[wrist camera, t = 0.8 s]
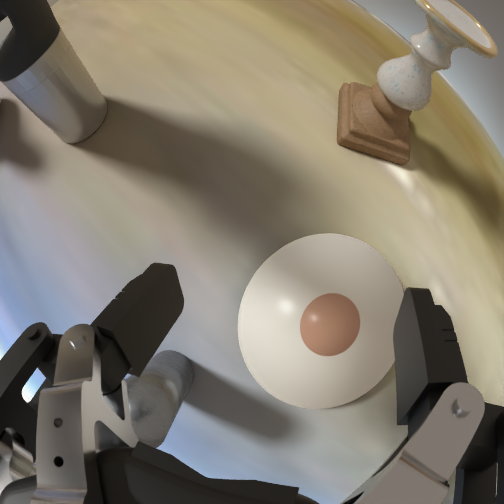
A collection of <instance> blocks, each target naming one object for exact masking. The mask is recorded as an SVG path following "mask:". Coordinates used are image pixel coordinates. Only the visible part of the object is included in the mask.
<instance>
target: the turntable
mask: <svg viewBox="0 0 504 504" xmlns="http://www.w3.org/2000/svg"><path fill="white" fill-rule="evenodd" d="M403 296H404V292H403V288H402V286H401V283H400V281H399V278H398V276H397V274H396V273H395V271H394V269H393V268H392V266H391V265H390V264H389V262H388V261H387V260H386V259H385V258H384V257H383V256H382V255H381V254H380V253H379V252H378V251H377V250H375V249H374V248H373V247H372V246H370V245H368V244H366V243H365V242H363V241H361V240H358V239H356V238H353V237H350V236H346V235H342V234H333V233H325V234H315V235H310V236H306V237H303V238H300V239H297V240H295V241H293V242H291V243H288V244H286V245H285V246H283V247H282V248H280V249H279V250H277V251H276V252H275V253H273V254H272V255H271V256H270V257H269V258H268V259H267V260H266V261H265V262H264V263H263V264H262V265H261V266H260V267H259V268H258V270H257V271H256V272H255V274H254V275H253V277H252V278H251V280H250V282H249V284H248V286H247V288H246V290H245V292H244V295H243V298H242V301H241V305H240V310H239V315H238V338H239V344H240V349H241V353H242V356H243V358H244V361H245V364H246V365H247V367H248V369H249V371H250V373H251V374H252V376H253V377H254V378H255V380H256V381H257V382H258V383H259V384H260V385H261V386H262V387H263V388H264V389H265V390H266V391H267V392H268V393H270V394H271V395H272V396H274V397H275V398H277V399H279V400H281V401H283V402H285V403H288V404H290V405H293V406H297V407H302V408H309V409H324V408H331V407H336V406H340V405H343V404H346V403H349V402H351V401H353V400H355V399H357V398H359V397H360V396H362V395H364V394H365V393H367V392H368V391H369V390H371V389H372V388H373V387H374V386H376V385H377V384H378V382H379V381H380V380H381V379H382V378H383V377H384V376H385V375H386V373H387V372H388V371H389V370H390V368H391V366H392V365H393V363H394V362H395V356H394V345H393V330H394V325H395V321H396V318H397V315H398V312H399V309H400V306H401V303H402V299H403Z"/></svg>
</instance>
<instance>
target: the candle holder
mask: <svg viewBox="0 0 504 504" xmlns="http://www.w3.org/2000/svg"><path fill="white" fill-rule="evenodd" d="M414 1H415V2H416V3H417V5H418V6H419V7H420V8H421V9H422V10H423V11H424V12H425V13H426V18H427V22H428V25H427V28H426V30H425V31H423V32H421V33H418V34H412V35H411V37H410V43H411V52H410V54H408V55H406V56H403V57H399V58H394V59H390V60H388V61H386V62H384V63H383V64H382V65H381V66H380V67H379V69H378V72H377V82H378V83H376V84H375V85H374V86H373V87H369V86H366V85H363V84H359V83H355V82H351V83H350V84H347V83H343V85H342V87H341V89H340V91H339V107H338V127H337V143H338V144H339V145H341V146H344V147H347V148H350V149H353V150H356V151H360V152H363V153H366V154H369V155H372V156H375V157H378V158H381V159H384V160H387V161H390V162H393V163H396V164H400V165H404V164H405V163H407V162H408V161H409V158H410V130H409V120H408V117H409V116H410V115H411V112H412V111H418V110H421V109H423V108H424V107H425V106H427V104H428V103H429V101H430V98H431V92H432V82H431V81H432V74H433V72H434V71H437V70H441V69H443V70H445V69H448V68H449V67H450V66H451V61H450V57H451V53H452V51H453V50H455V49H456V48H467V47H468V48H469V49H471V50H472V51H474V52H475V53H477V54H479V55H480V56H483V57H485V58H489V59H492V58H494V57H496V56H497V53H498V50H497V47H496V44H495V42H494V41H493V39H492V38H491V36H490V35H489V33H488V32H487V31H486V30H485V28H484V27H483V26H482V25H481V24H480V23H479V22H478V21H477V20H476V19H475V18H474V17H473V16H472V15H471V14H470V13H469V12H468V11H466V10H465V9H464V8H463V7H462V6H460V5H459V4H458V3H456V2H455V1H453V0H414Z"/></svg>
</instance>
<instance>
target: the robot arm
mask: <svg viewBox="0 0 504 504" xmlns="http://www.w3.org/2000/svg"><path fill="white" fill-rule="evenodd" d="M7 16H8V18H9V19H10V21H11V24H12V26H13V28H12V30H11V31H10V33H9V34H8V35H7V36H6V38H5V39H4V40H3V42H2V43H1V45H0V81H1V82H2V83H3V84H4V85H5V86H6V87H7V88H8V89H9V90H10V91H11V92H12V93H13V94H14V95H15V96H16V97H17V98H18V99H19V100H20V101H21V102H22V103H23V104H24V105H25V106H26V107H27V108H29V109H30V110H31V111H32V112H33V113H34V114H35V115H36V116H37V117H38V118H39V119H40V120H41V121H42V122H43V123H44V124H45V125H46V126H48V127H49V128H50V129H51V130H52V131H53V132H54V133H55V134H56V135H57V136H58V137H59V138H60V139H61V140H63V141H64V142H66V143H77V142H80V141H82V140H84V139H86V138H88V137H89V136H90V135H92V134H93V133H94V132H95V131H96V130H97V129H98V128H99V126H100V125H101V124H102V122H103V120H104V118H105V116H106V113H107V102H106V100H105V98H104V97H103V95H102V94H101V92H100V91H99V89H98V87H97V86H96V84H95V83H94V81H93V79H92V78H91V76H90V75H89V73H88V72H87V70H86V68H85V67H84V65H83V64H82V62H81V60H80V59H79V57H78V56H77V54H76V52H75V51H74V49H73V47H72V46H71V44H70V42H69V41H68V39H67V38H66V36H65V34H64V33H63V31H62V29H61V28H60V26H59V24H58V23H57V21H56V19H55V17H54V15H53V12H52V10H51V8H50V6H49V4H48V2H47V0H0V21H2V20H3V19H4V18H5V17H7ZM183 306H184V297H183V294H182V290H181V286H180V283H179V279H178V275H177V272H176V269H175V267H174V266H173V265H170V264H162V263H153V264H151V265H150V266H149V267H148V268H147V269H146V270H145V271H144V273H143V274H141V275H139V276H138V277H136V278H135V279H133V280H131V281H130V282H129V283H128V284H127V285H126V286H125V287H124V288H123V289H122V292H120V293H119V294H118V295H117V296H116V297H115V299H113V300H112V301H111V302H110V303H109V305H108V306H107V307H106V308H105V309H104V310H103V311H102V312H101V313H100V315H99V316H98V317H97V318H96V319H95V320H94V321H93V322H92V324H91V325H88V324H78V325H75V326H73V327H71V328H70V329H68V330H67V331H66V332H65V333H64V334H63V335H61V334H52V333H51V331H50V330H49V328H48V327H47V325H46V324H45V323H42V322H39V323H35V324H33V325H31V326H29V327H28V328H27V329H26V330H25V331H24V332H23V333H22V334H21V336H20V337H19V338H18V339H17V340H16V342H15V343H14V344H13V345H12V346H11V348H10V349H9V350H8V351H7V353H6V354H5V355H4V356H3V358H2V359H1V360H0V504H319V503H317V502H316V501H314V500H312V499H310V498H308V497H306V496H304V495H301V494H298V490H299V487H291V486H285V485H278V484H273V483H267V482H262V481H257V480H229V479H212V478H207V477H205V476H203V475H201V474H200V473H198V472H197V471H195V470H193V469H192V468H190V467H189V466H187V465H186V464H184V463H183V462H181V461H180V460H178V459H177V458H175V457H174V456H173V455H171V454H168V453H166V452H163V451H161V450H158V449H156V448H154V447H151V446H149V445H147V444H145V443H142V442H140V441H139V440H138V437H137V435H136V433H135V432H134V430H133V427H132V424H131V417H130V410H129V402H128V393H127V384H126V380H125V379H124V377H125V376H126V374H127V373H129V374H131V375H134V376H136V377H140V375H141V374H142V372H143V370H144V369H145V367H146V366H147V364H148V363H149V361H150V360H151V358H152V357H153V355H154V353H155V352H156V350H157V349H158V347H159V346H160V344H161V343H162V341H163V340H164V338H165V337H166V335H167V334H168V332H169V331H170V329H171V328H172V326H173V325H174V323H175V322H176V320H177V319H178V317H179V316H180V314H181V312H182V310H183ZM393 345H394V356H395V370H396V390H397V425H408V434H407V435H406V436H405V438H404V439H403V440H402V442H401V443H400V444H399V445H398V446H397V448H396V449H395V450H394V451H393V452H392V454H391V455H390V456H389V457H388V458H387V459H386V460H385V462H384V463H383V464H382V465H381V466H380V467H379V468H378V469H377V470H376V471H375V472H374V473H373V474H372V476H371V477H370V478H369V479H368V480H366V481H365V482H364V483H363V484H362V485H361V486H360V487H359V488H357V489H356V490H355V491H354V492H353V493H352V494H351V495H350V496H349V497H347V498H346V499H345V500H344V501H343V502H342V503H341V504H441V502H442V501H443V499H444V498H445V496H446V495H447V493H448V490H449V484H448V479H449V477H450V476H451V474H452V473H453V471H454V469H455V468H456V481H455V492H454V501H453V504H504V407H502V406H498V405H494V404H489V403H486V402H484V400H483V397H482V395H481V393H480V392H479V391H478V390H477V389H476V388H475V387H474V386H472V385H470V384H468V380H467V376H466V371H465V367H464V363H463V359H462V355H461V351H460V347H459V344H458V342H457V337H456V333H455V332H454V327H453V324H452V320H451V317H450V316H449V314H448V313H447V312H446V311H445V309H444V308H443V307H442V306H441V305H435V304H434V301H433V298H432V295H431V292H430V290H429V289H425V288H409V287H408V288H406V290H405V293H404V296H403V299H402V303H401V306H400V309H399V312H398V315H397V318H396V321H395V325H394V330H393ZM37 367H38V369H39V370H40V371H41V372H42V374H43V375H44V376H45V377H46V379H45V381H44V382H43V384H42V385H41V386H40V388H39V389H38V391H37V392H36V394H35V395H34V397H33V398H32V400H31V401H30V402H28V403H27V402H26V401H25V400H24V399H23V397H22V388H23V387H24V385H25V384H26V382H27V381H28V379H29V378H30V377H31V375H32V374H33V373H34V371H35V370H36V368H37ZM35 460H36V464H35V463H34V462H35ZM497 463H498V473H497ZM30 475H31V476H30ZM496 480H497V494H496ZM495 497H496V498H495Z"/></svg>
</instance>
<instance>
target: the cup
mask: <svg viewBox="0 0 504 504" xmlns="http://www.w3.org/2000/svg"><path fill="white" fill-rule="evenodd" d="M193 379H194V370H193V367H192V364H191V362H190V361H189V360H188V359H187V358H186V357H185V356H184V355H183V354H181V353H179V352H176V351H171V350H167V351H162V352H160V353H158V354H157V355H155V356H154V357H153V358H152V359H151V360H150V361H149V363H148V364H147V366H146V367H145V369H144V370H143V372H142V374H141V375H140V377H136V376H134V375H131V376H129V377H128V378H127V379H126V384H127V393H128V402H129V410H130V417H131V424H132V427H133V430H134V432H135V433H136V435H137V437H138V440H139V441H140V442H142V443H145V444H147V445H149V446H151V447H154V448H157V447H158V446H160V445H161V444H162V443H163V441H164V439H165V437H166V435H167V433H168V431H169V429H170V427H171V425H172V423H173V421H174V419H175V417H176V415H177V413H178V411H179V409H180V407H181V405H182V402H183V400H184V398H185V396H186V394H187V392H188V390H189V388H190V386H191V384H192V382H193Z"/></svg>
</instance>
